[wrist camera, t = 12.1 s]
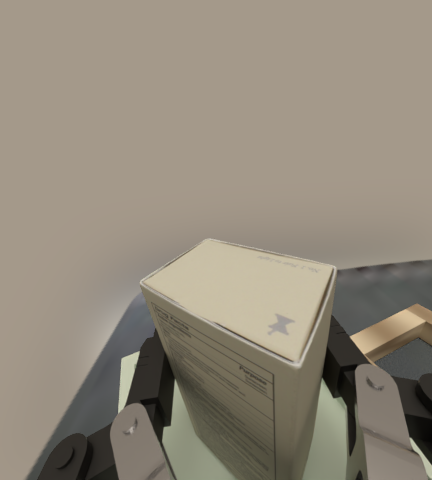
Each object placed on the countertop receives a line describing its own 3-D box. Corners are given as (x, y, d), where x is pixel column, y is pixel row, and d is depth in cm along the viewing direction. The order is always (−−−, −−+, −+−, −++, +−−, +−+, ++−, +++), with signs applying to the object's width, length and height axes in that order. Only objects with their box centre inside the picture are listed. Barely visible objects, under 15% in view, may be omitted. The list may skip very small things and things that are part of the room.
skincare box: (314, 435, 12) (349, 265, 7) (286, 538, 9) (311, 378, 4) (228, 374, 16) (208, 233, 11) (188, 434, 13) (133, 279, 8)
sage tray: (279, 318, 22) (279, 297, 20) (490, 567, 9) (529, 553, 7) (132, 380, 18) (121, 358, 17) (127, 980, 5) (74, 1102, 4)
